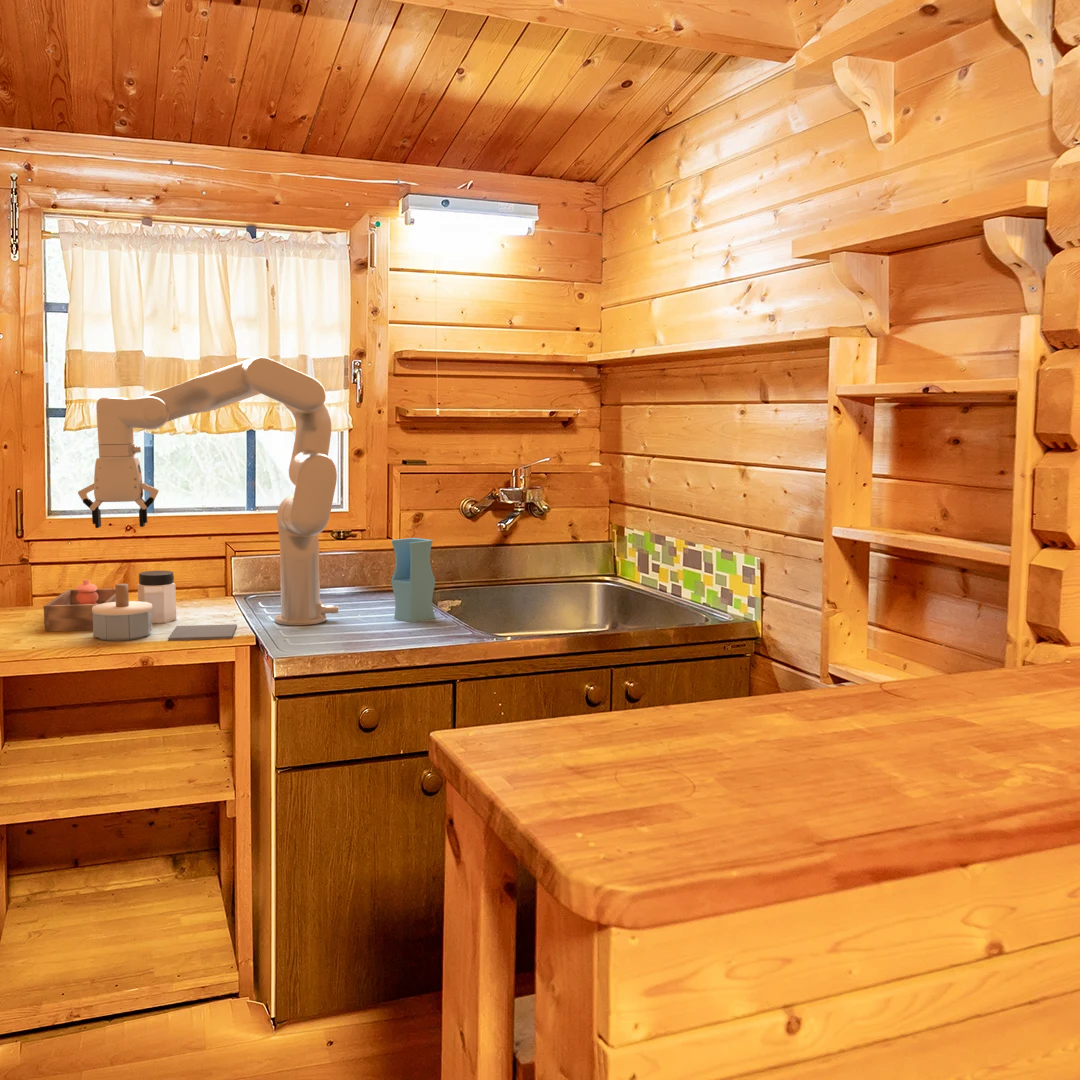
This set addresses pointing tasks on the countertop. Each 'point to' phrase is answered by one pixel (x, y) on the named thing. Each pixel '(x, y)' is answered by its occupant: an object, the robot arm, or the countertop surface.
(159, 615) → the jar
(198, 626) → the mat
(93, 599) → the pottery
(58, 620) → the tray
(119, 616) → the bowl
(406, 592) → the vase
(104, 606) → the lid
